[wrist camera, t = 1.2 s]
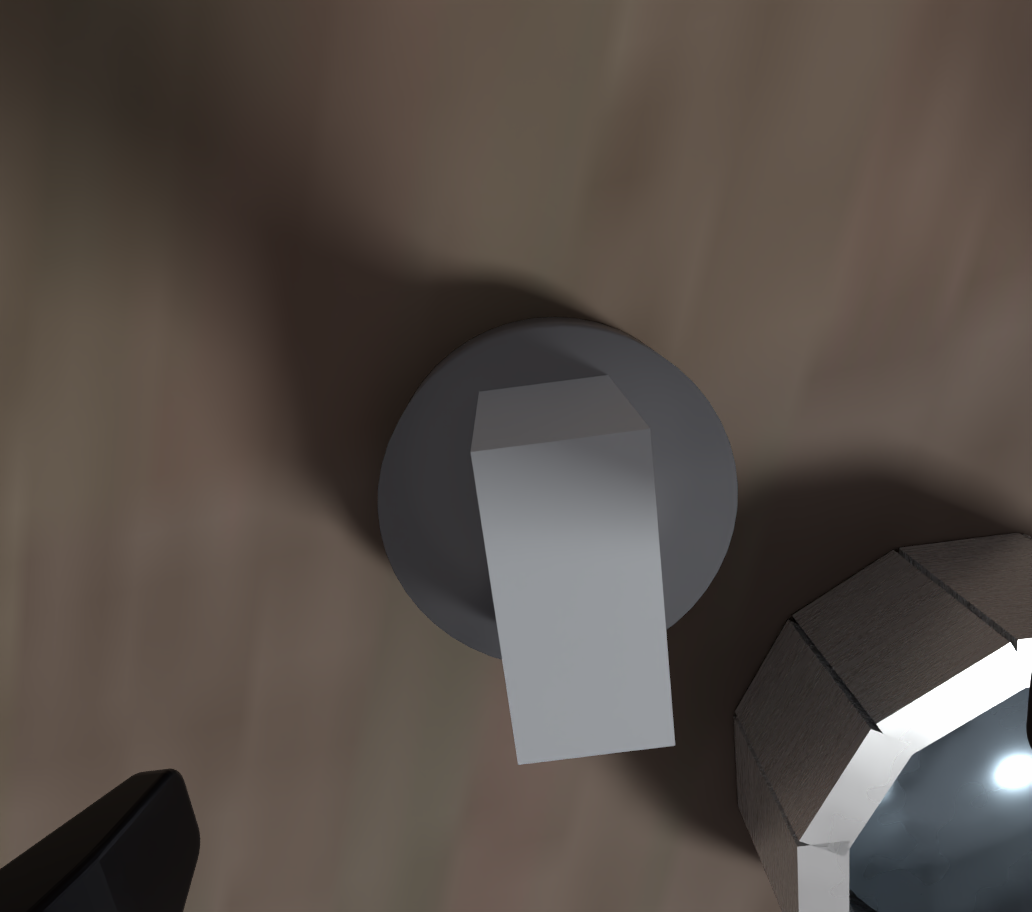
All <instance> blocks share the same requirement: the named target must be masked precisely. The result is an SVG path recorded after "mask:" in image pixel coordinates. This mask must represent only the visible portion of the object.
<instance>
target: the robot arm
mask: <svg viewBox="0 0 1032 912" xmlns="http://www.w3.org/2000/svg"><path fill="white" fill-rule="evenodd" d="M1026 733H1027V739H1028V742H1029V745H1030V747H1031V749H1032V671H1031V676H1030V685H1029V698H1028V710H1027V722H1026ZM199 849H200V832H199V828H198V824H197V821H196V818H195V814H194V811H193V808H192V805H191V801H190V798H189V795H188V792H187V788H186V785H185V782H184V779H183V777H182V775H181V774H180V773H179V772H178V771H177V770H174V769H163V770H155V771H146V772H140V773H137V774H135V775H133V776H131V777H130V778H128V779H127V780H126V781H124V782H123V783H121V784H120V785H118V786H117V787H116V788H114V789H113V790H111V791H110V792H109V793H107V794H106V795H104V796H103V797H102V798H100V799H99V800H97V801H96V802H94V803H93V804H92V805H90V806H89V807H87V808H86V809H85V810H83V811H82V812H80V813H79V814H77V815H76V816H75V817H73V818H72V819H70V820H69V821H68V822H66V823H65V824H63V825H62V826H61V827H59V828H58V829H56V830H55V831H53V832H52V833H51V834H49V835H48V836H46V837H45V838H44V839H42V840H41V841H39V842H38V843H36V844H35V845H34V846H32V847H31V848H29V849H28V850H27V851H25V852H24V853H22V854H21V855H20V856H18V857H17V858H15V859H14V860H12V861H11V862H10V863H8V864H7V865H5V866H4V867H3V868H1V869H0V912H183V910H184V906H185V903H186V899H187V896H188V892H189V888H190V885H191V881H192V878H193V874H194V870H195V867H196V863H197V860H198V855H199Z"/></svg>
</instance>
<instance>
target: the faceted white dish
mask: <svg viewBox="0 0 1032 912" xmlns="http://www.w3.org/2000/svg"><path fill="white" fill-rule="evenodd" d="M792 616H793V617H794V619H795V620H796V621H797V623H796V622H793V621H791V620H787V622H786V624H785V626H784V627H783V629H782V631H781V632H780V634H779V636H778V638H777V639H776V641H775V643H774V645H773V646H772V648H771V650H770V651H769V653H768V655H767V657H766V658H765V660H764V662H763V664H762V665H761V667H760V669H759V670H758V672H757V674H756V676H755V677H754V679H753V681H752V683H751V684H750V686H749V688H748V690H747V691H746V693H745V695H744V696H743V698H742V700H741V702H740V703H739V705H738V707H737V709H736V710H735V713H736V715H737V716H734V735H735V754H736V774H737V794H738V807H739V810H740V812H741V815H742V817H743V819H744V822H745V824H746V827H747V829H748V831H749V834H750V836H751V839H752V841H753V843H754V846H755V848H756V851H757V853H758V855H759V858H760V860H761V862H762V865H763V867H764V870H765V872H766V874H767V877H768V879H769V882H770V884H771V886H772V889H773V891H774V894H775V896H776V898H777V901H778V903H779V905H780V908H781V910H782V912H1032V749H1031V747H1030V745H1029V742H1028V739H1027V733H1026V722H1027V710H1028V698H1029V685H1030V676H1031V671H1032V537H1031V536H1029V535H1026V534H1023V535H1021V534H1019V533H1012V534H1004V535H996V536H988V537H980V538H972V539H964V540H956V541H948V542H940V543H932V544H925V545H917V546H909V547H901V548H899V554H898V553H897V552H895V551H894V550H892V551H891V552H889V553H888V554H886V555H885V556H883V557H881V558H880V559H878V560H877V561H875V562H874V563H872V564H871V565H869V566H868V567H866V568H864V569H863V570H861V571H860V572H858V573H857V574H855V575H854V576H852V577H850V578H849V579H847V580H846V581H844V582H843V583H841V584H840V585H838V586H837V587H835V588H833V589H832V590H830V591H829V592H827V593H826V594H824V595H823V596H821V597H820V598H818V599H816V600H815V601H813V602H812V603H810V604H809V605H807V606H806V607H804V608H803V609H801V610H799V611H798V612H796V613H795V614H793V615H792Z"/></svg>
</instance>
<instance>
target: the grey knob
mask: <svg viewBox="0 0 1032 912" xmlns="http://www.w3.org/2000/svg"><path fill="white" fill-rule="evenodd" d="M737 499H738V483H737V475H736V466H735V461H734V457H733V453H732V450H731V446H730V442H729V440H728V437H727V435H726V433H725V430H724V428H723V425H722V423H721V421H720V419H719V417H718V416H717V414H716V412H715V411H714V409H713V407H712V406H711V404H710V402H709V401H708V400H707V399H706V397H705V396H704V395H703V394H702V392H701V391H700V390H699V389H698V387H697V386H696V385H695V384H694V383H693V382H692V381H691V380H690V379H689V378H688V377H687V376H686V375H685V374H684V373H682V372H681V371H680V370H679V369H678V368H677V367H676V366H674V365H673V364H672V363H670V362H669V361H668V360H666V359H665V358H663V357H662V356H661V355H659V354H658V353H657V352H655V351H654V350H652V349H651V348H650V347H648V346H647V345H645V344H644V343H642V342H641V341H639V340H638V339H636V338H634V337H632V336H630V335H628V334H626V333H624V332H622V331H620V330H618V329H615V328H612V327H609V326H607V325H604V324H601V323H598V322H593V321H588V320H583V319H578V318H566V317H543V318H531V319H526V320H521V321H516V322H511V323H508V324H505V325H502V326H499V327H496V328H493V329H490V330H488V331H486V332H484V333H482V334H480V335H478V336H476V337H474V338H472V339H470V340H469V341H467V342H466V343H464V344H463V345H461V346H460V347H458V348H457V349H455V350H454V351H452V352H451V353H450V354H449V355H448V356H447V357H445V358H444V359H443V360H442V361H441V362H440V363H439V364H438V365H437V366H435V368H434V369H433V370H432V371H431V372H430V373H429V375H428V376H427V377H426V378H425V379H424V380H423V382H422V383H421V384H420V386H419V388H418V389H417V391H416V392H415V394H414V395H413V397H412V398H411V400H410V402H409V404H408V405H407V407H406V409H405V411H404V412H403V414H402V416H401V418H400V420H399V421H398V423H397V426H396V428H395V430H394V432H393V434H392V436H391V439H390V441H389V443H388V446H387V449H386V453H385V456H384V459H383V462H382V466H381V473H380V479H379V485H378V516H379V524H380V532H381V536H382V539H383V543H384V547H385V550H386V554H387V556H388V558H389V561H390V563H391V566H392V568H393V570H394V573H395V574H396V576H397V578H398V580H399V581H400V583H401V585H402V586H403V588H404V590H405V591H406V593H407V594H408V595H409V597H410V598H411V599H412V600H413V602H414V603H415V604H416V605H417V607H418V608H419V609H420V610H421V611H422V612H423V613H424V614H425V615H426V616H427V617H428V618H429V619H430V620H431V621H432V622H433V623H434V624H435V625H437V626H438V627H439V628H441V629H442V630H443V631H445V632H446V633H447V634H449V635H450V636H451V637H453V638H455V639H456V640H458V641H460V642H462V643H463V644H465V645H467V646H469V647H470V648H472V649H475V650H477V651H480V652H482V653H484V654H487V655H489V656H492V657H495V658H499V659H502V661H503V668H504V675H505V681H506V688H507V694H508V701H509V707H510V714H511V721H512V727H513V734H514V740H515V747H516V753H517V760H518V765H520V764H529V763H537V762H545V761H553V760H561V759H570V758H578V757H586V756H594V755H602V754H611V753H619V752H627V751H635V750H644V749H652V748H660V747H668V746H675V736H674V724H673V711H672V698H671V685H670V673H669V660H668V647H667V634H666V630H667V629H668V628H669V627H671V626H672V625H673V624H675V623H676V622H677V621H678V620H679V619H680V618H681V617H683V616H684V615H685V614H686V613H687V612H688V611H689V610H690V609H691V608H692V607H693V606H694V604H695V603H696V602H697V601H698V600H699V598H700V597H701V596H702V595H703V593H704V592H705V591H706V590H707V588H708V587H709V585H710V583H711V582H712V580H713V579H714V577H715V575H716V574H717V572H718V570H719V568H720V566H721V564H722V562H723V559H724V557H725V555H726V553H727V550H728V547H729V544H730V541H731V537H732V534H733V531H734V525H735V519H736V513H737Z"/></svg>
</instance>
